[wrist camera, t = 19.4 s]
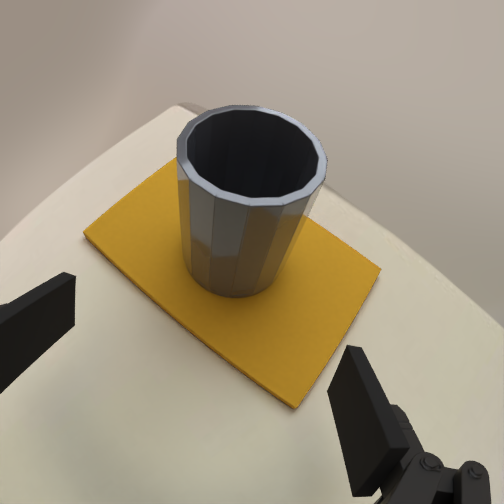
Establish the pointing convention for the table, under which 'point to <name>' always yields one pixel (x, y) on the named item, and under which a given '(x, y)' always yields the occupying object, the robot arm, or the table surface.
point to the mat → (248, 308)
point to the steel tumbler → (244, 195)
